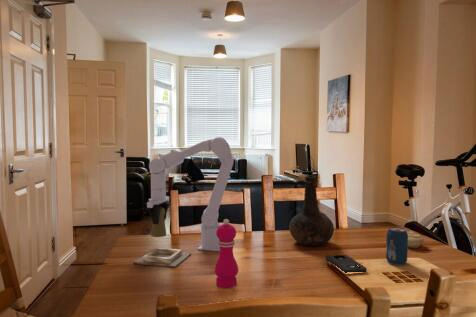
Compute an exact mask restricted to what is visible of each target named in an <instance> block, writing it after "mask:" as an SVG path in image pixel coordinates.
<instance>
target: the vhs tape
mask: <svg viewBox="0 0 476 317" xmlns="http://www.w3.org/2000/svg"><path fill="white" fill-rule="evenodd" d="M325 261H326V262H327V263H329V262H330V263H332V264H334V265H335V266H337V267H338V268H340V269H341V270H342V271H344V272H345V273H347V272H367V267H366V266H364V265H362V264H361V263H360V262H358V261H357V260H355V259H353V258H352V257H350V256H349V255H347V254H337V255H334V254H333V255H325ZM330 263H329V264H330ZM357 265H358V266H359V267H361V268H359V267H358V266H357Z"/></svg>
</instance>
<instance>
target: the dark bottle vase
mask: <svg viewBox="0 0 476 317" xmlns="http://www.w3.org/2000/svg"><path fill="white" fill-rule="evenodd" d="M302 182H303V183H304V198H303V199H304V200H303V206H302V210H301V212H300V213H298V214H296V215H294V216H293V217H292V218H291V220H290V221H289V226H288V227H289V228H288V229H289V233H290V236H291V237H292V238H293V239H294V240H295V242H297V243H298V244H300V245H303V246H307V247H319V246H323V245H325V244H327V243H328V242H330V240H331V239H332V237H333V235H334V231H335V227H334V223H333V222H332V220H331V219H330V217H328V216H327V215H326V214H325V213H323V212H321V211H320V208H319V204H318V195H317V182H318V180H317V176H315V175H305V177H304V179H303V181H302Z"/></svg>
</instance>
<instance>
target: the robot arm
mask: <svg viewBox="0 0 476 317" xmlns="http://www.w3.org/2000/svg"><path fill="white" fill-rule="evenodd" d="M201 152H208V153H210V152H212V153H213V154H214V155H216V157H217V158H218V160H219V162H220V168H219V171H218V174H217V177H216V178H215V179H216V180H215V182H214V187H213V189H212V192H211V195H210V198H209V202H208V205H207V207H206V208H205V209H204V210H203V213H202V215H201V219H200V220H201V225H200V230H201V232H200V233H201V234H200V236H201V237H200V240H201V242H200V243H201V244H200V246H199V247H197V250H201V251H212V252H220V246H219V245H218V240H219V238H218V237H217V235H216V231H217V228H218V227H219V226H220V225H221V224H220V222H218V221H219V220H218V219H219V216H220V214H219V209H220V206H221V202H222V199H223V197H224V193H225V189H226V188H227V184H228V181H229V178H230V176H231V171H232V169H233V166H234V163H235V162H234V157H233V154H232V150H231V147H230V144H229V143H228V142H227V140H226V139H225V138H223V137H221V136H220V137H219V136H218V137H215V138H211V139H207V140H203V141H201V142H199V143H196V144H194V145H192V146H189V147H188V148H185V149H183V150H180V149H177V148H176V149H174V148H173V149H170V151H169V152H167V153H165V154H160V155H159V157H155V158H153V159H151V160H150V162H149V164H148V168H149V170H150V198H148V201H147V202H146V209H147V211H148V213H149V215H150V219H151V222H152V223H153V224H158V223H159V215H160V211H161V208H164V209H165V215H164V221H166V217H167V215H168V214H167V213H168V210H169V208H170V205H171V202H169V201H170V196H168V195H167V191H166V190H167V187H166V186H167V184H166V183H167V182H166V180H167V178H166V170H167V169H171V168H174V167H176V166H178V165H180V164H182V163H184V160H185V158H188V157H191V156H194V155H196V154H199V153H201Z"/></svg>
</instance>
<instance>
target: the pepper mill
mask: <svg viewBox="0 0 476 317" xmlns="http://www.w3.org/2000/svg"><path fill="white" fill-rule="evenodd" d="M222 222H223V224H219V225H220V226H219V227H218V228H217V231H216V235H217V237H218V238H219V240H218V245H219V246H220V251H219V256H218V258H217V260H216V262H215V265H214V274H215V275H216V276H217V277H216V278H215V283H216V286H217V287H219V288H222V289H231V288H234V287H236V286H237V283H238V282H237V281H238V280H237V279H238V278H237V276H238V273H239V266H238V263H237V261H236V258H235V256H234V246H235V238H236V237H237V229H236V228H235V226H234V225H233V224H230V220H229V219H227V218H225V219H223V221H222Z"/></svg>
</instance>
